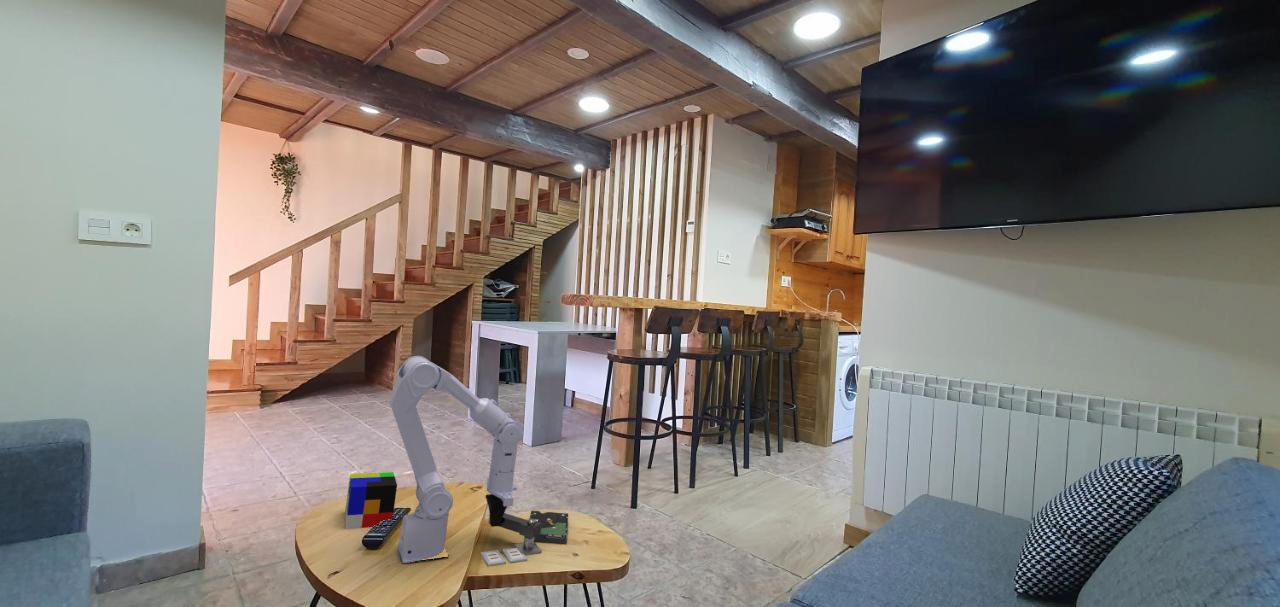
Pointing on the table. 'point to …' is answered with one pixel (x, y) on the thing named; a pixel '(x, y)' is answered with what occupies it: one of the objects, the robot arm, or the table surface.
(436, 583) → the table surface
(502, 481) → the robot arm
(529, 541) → the pivot stand
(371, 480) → the puzzle toy
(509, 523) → the swing arm
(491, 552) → the label plate
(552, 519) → the disk drive
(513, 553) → the label plate
